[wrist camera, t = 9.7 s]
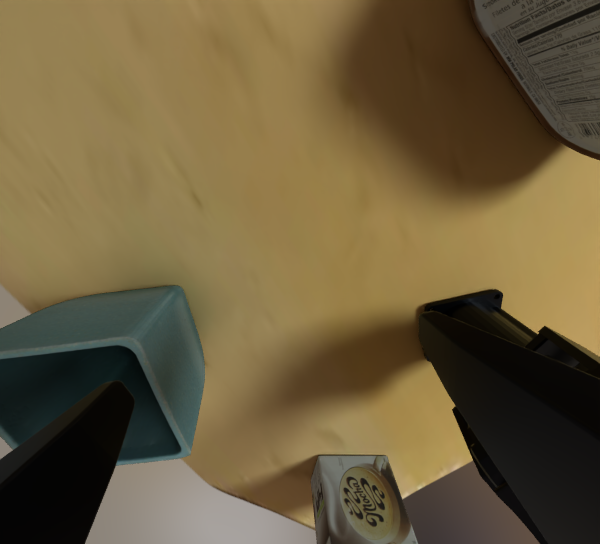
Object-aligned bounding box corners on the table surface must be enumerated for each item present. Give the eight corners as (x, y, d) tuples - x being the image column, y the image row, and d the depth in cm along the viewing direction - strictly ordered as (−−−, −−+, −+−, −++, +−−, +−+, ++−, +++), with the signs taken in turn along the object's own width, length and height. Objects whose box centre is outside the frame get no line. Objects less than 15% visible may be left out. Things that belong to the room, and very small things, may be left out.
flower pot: (79, 271, 18) (-81, 363, 10) (198, 257, 19) (133, 337, 10) (126, 359, 22) (37, 478, 14) (225, 347, 22) (193, 458, 14)
